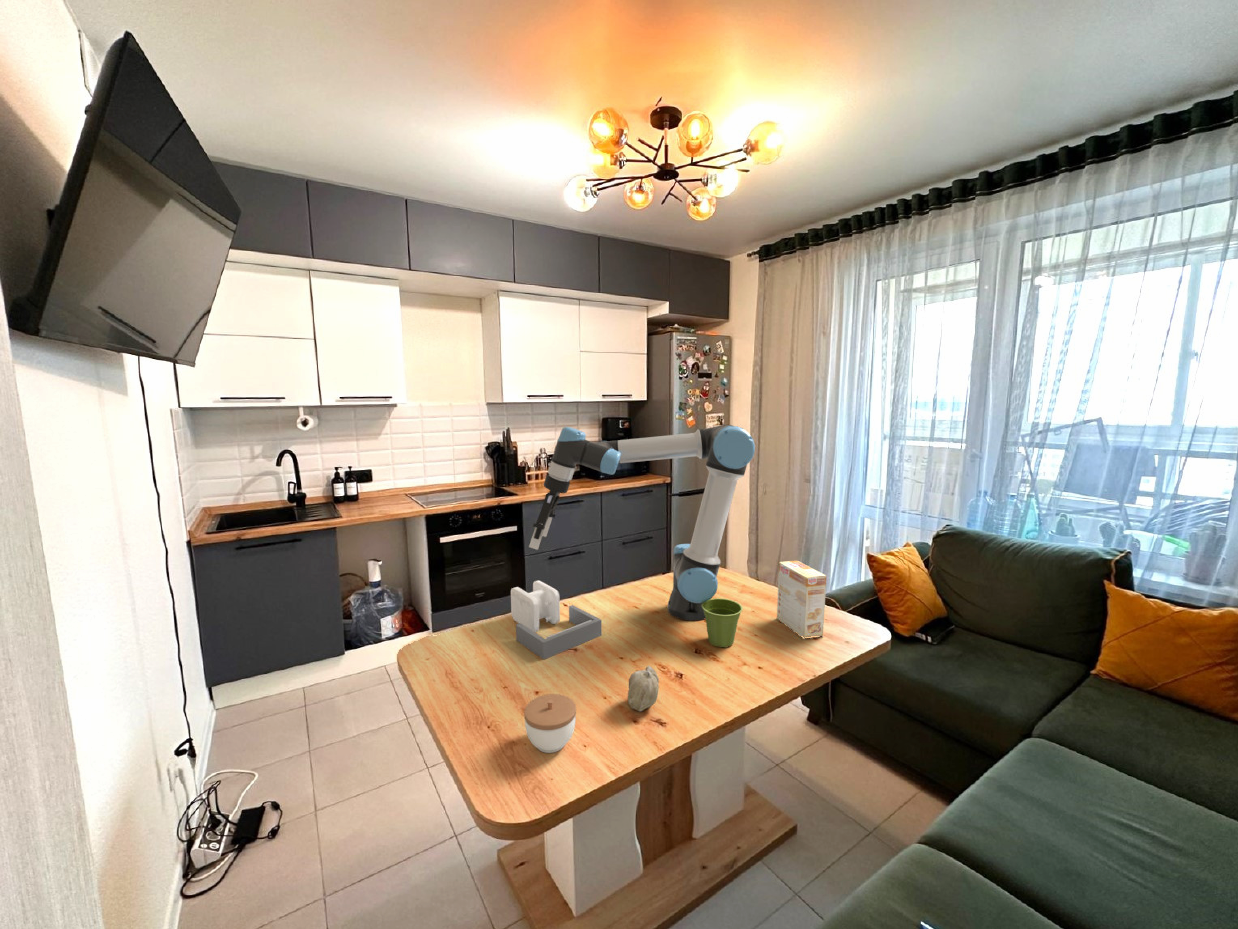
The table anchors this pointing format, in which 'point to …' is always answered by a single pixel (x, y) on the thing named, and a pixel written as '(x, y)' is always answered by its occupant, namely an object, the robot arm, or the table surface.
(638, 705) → the grey lumpy rounded piece
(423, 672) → the table surface
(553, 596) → the cable organizer
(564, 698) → the lidded jar
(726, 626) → the plant pot
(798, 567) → the coffeecake box
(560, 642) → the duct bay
